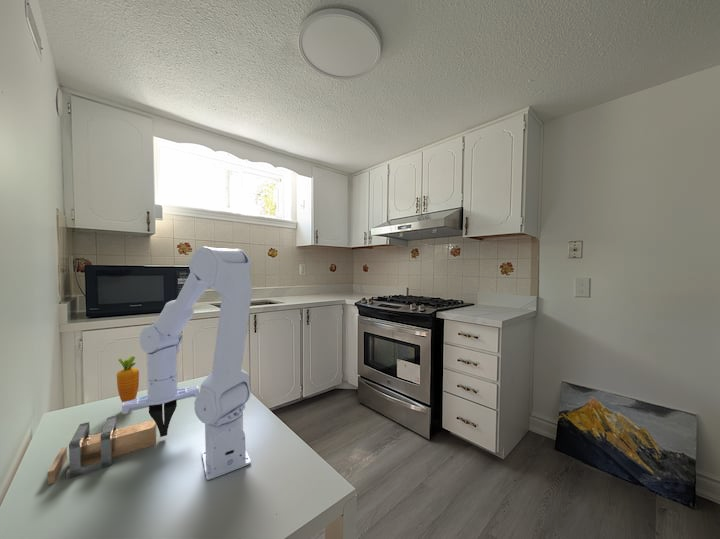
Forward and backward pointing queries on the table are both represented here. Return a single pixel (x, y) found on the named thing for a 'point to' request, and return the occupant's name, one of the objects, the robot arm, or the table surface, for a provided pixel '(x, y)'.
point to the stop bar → (57, 465)
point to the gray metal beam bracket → (76, 449)
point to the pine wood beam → (121, 441)
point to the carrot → (128, 380)
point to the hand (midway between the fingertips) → (163, 434)
